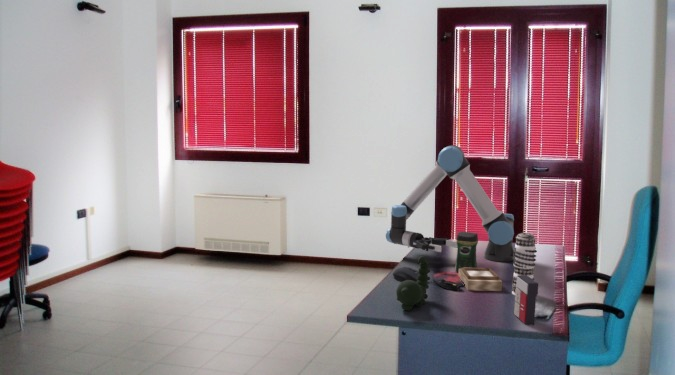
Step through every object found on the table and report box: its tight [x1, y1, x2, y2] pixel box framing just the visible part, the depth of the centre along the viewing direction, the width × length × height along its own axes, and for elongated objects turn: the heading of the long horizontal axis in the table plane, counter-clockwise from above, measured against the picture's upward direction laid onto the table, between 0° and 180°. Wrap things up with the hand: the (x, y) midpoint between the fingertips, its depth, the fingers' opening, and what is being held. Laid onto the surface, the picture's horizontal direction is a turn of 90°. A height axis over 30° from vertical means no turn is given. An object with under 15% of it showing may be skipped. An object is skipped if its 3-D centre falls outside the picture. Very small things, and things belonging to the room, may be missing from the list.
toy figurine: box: [396, 255, 431, 312], centre depth 241 cm, size 9×19×25 cm
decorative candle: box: [511, 232, 538, 296], centre depth 259 cm, size 9×9×25 cm
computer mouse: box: [392, 266, 462, 292], centre depth 273 cm, size 10×32×6 cm, turn 56°
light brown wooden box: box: [457, 267, 503, 292], centre depth 274 cm, size 14×20×5 cm
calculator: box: [513, 275, 539, 326], centre depth 228 cm, size 11×4×15 cm, turn 5°
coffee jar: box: [454, 231, 479, 273], centre depth 293 cm, size 10×8×19 cm
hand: (449, 247), depth 299 cm, fingers open, 13 cm apart
